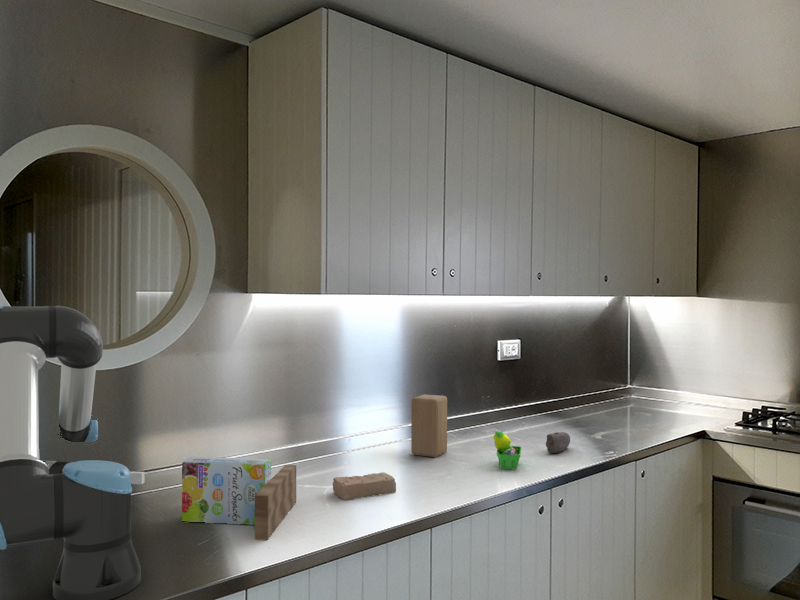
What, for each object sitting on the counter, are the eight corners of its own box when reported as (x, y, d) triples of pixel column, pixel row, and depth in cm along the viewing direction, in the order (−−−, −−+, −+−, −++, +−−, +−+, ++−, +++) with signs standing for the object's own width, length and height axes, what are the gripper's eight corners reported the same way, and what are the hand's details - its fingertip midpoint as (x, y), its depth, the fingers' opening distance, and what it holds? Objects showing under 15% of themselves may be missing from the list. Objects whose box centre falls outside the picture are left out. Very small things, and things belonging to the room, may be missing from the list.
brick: (384, 485, 185) (384, 469, 185) (397, 493, 178) (397, 476, 178) (331, 494, 178) (331, 477, 177) (343, 502, 170) (342, 485, 170)
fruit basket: (520, 470, 200) (520, 435, 200) (492, 469, 202) (492, 434, 202) (521, 461, 211) (521, 427, 211) (494, 460, 213) (494, 426, 213)
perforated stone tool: (562, 446, 233) (563, 427, 233) (575, 448, 229) (576, 429, 229) (541, 453, 222) (541, 433, 222) (554, 456, 219) (555, 436, 219)
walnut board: (267, 539, 143) (267, 495, 143) (254, 539, 143) (254, 495, 143) (296, 502, 169) (296, 465, 169) (285, 502, 169) (285, 464, 169)
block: (410, 455, 220) (410, 397, 219) (422, 448, 228) (422, 393, 228) (436, 458, 215) (436, 399, 215) (448, 452, 224) (448, 395, 224)
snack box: (272, 518, 157) (272, 458, 157) (264, 526, 151) (264, 464, 151) (190, 515, 159) (190, 455, 159) (180, 523, 154) (180, 461, 153)
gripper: (69, 483, 168) (155, 485, 166) (37, 498, 155) (130, 500, 153) (69, 455, 168) (155, 456, 166) (37, 468, 155) (129, 469, 153)
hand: (143, 477), depth 159 cm, fingers closed
